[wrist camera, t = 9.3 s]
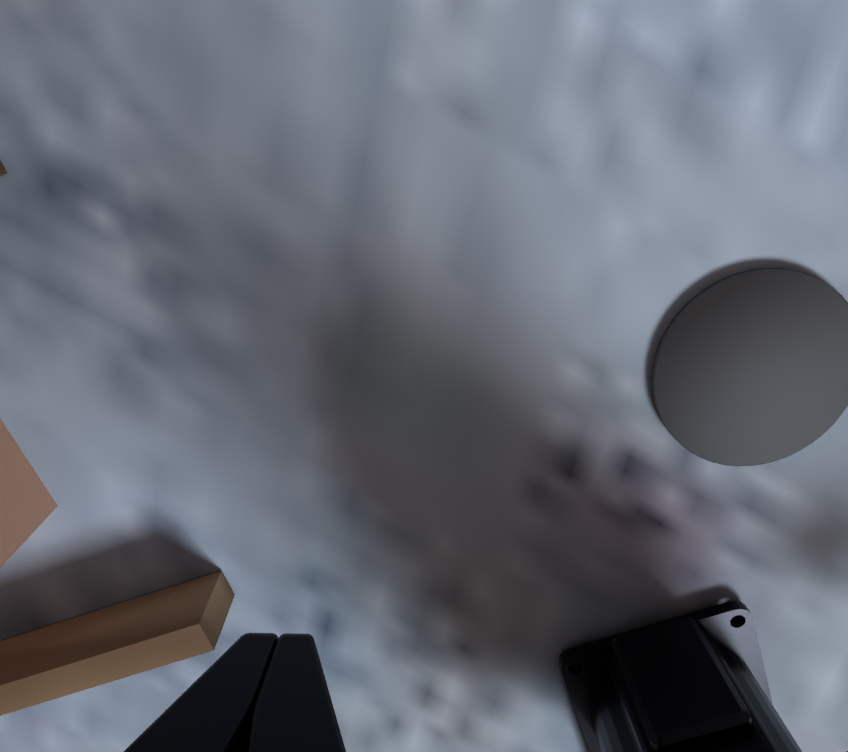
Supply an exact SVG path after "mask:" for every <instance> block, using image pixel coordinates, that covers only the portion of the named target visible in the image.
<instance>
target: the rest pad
mask: <svg viewBox="0 0 848 752" xmlns="http://www.w3.org/2000/svg"><path fill="white" fill-rule="evenodd" d="M652 393H653V398H654V403H655V406H656V409H657V412H658V414H659V416H660V418H661V420H662V422H663V424H664V425H665V427H666V428H667V430H668V431H669V432H670V434H671V435H672V436H673V437H674V438H675V439H676V440H677V441H678V442H679V443H680V444H681V445H682V446H683V447H685V448H686V449H687V450H689V451H690V452H691V453H693V454H695V455H697V456H699V457H701V458H703V459H706V460H708V461H711V462H714V463H718V464H723V465H730V466H753V465H760V464H765V463H769V462H773V461H777V460H779V459H782V458H785V457H788V456H790V455H792V454H794V453H796V452H798V451H800V450H802V449H803V448H805V447H806V446H808V445H810V444H811V443H813V442H814V441H815V440H816V439H818V438H819V437H820V436H821V435H823V434H824V433H825V432H826V431H827V430H828V429H829V428H830V427H831V426H832V425H833V424H834V423H835V422H836V420H837V419H838V418H839V417H840V415H841V414H842V413H843V411H844V410H845V408H846V407H847V405H848V302H847V301H846V300H845V299H844V297H843V296H842V295H841V294H840V293H838V292H837V291H836V290H835V289H834V288H833V287H831V286H830V285H828V284H827V283H825V282H823V281H822V280H819V279H817V278H815V277H812V276H810V275H807V274H805V273H801V272H797V271H794V270H788V269H780V268H763V269H756V270H749V271H745V272H742V273H738V274H735V275H732V276H730V277H727V278H725V279H722V280H720V281H719V282H717V283H715V284H713V285H711V286H709V287H708V288H706V289H705V290H704V291H702V292H701V293H699V294H698V295H697V296H695V297H694V298H693V299H692V300H691V301H690V302H689V303H688V304H686V305H685V306H684V308H683V309H682V310H681V311H680V312H679V313H678V314H677V315H676V317H675V318H674V320H673V321H672V322H671V324H670V325H669V327H668V328H667V330H666V332H665V334H664V336H663V337H662V339H661V342H660V344H659V347H658V349H657V352H656V356H655V360H654V364H653V371H652Z"/></svg>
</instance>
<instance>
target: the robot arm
mask: <svg viewBox="0 0 848 752" xmlns="http://www.w3.org/2000/svg"><path fill="white" fill-rule="evenodd" d="M736 615H739V616H738V617H737V618H735V619H732V618H733V617H734V616H736ZM574 662H579V663H578V664H576V665H570V664H572V663H574ZM559 665H560V668H561V672H562V675H563V678H564V680H565V683H566V686H567V689H568V692H569V695H570V697H571V700H572V703H573V706H574V709H575V711H576V714H577V717H578V720H579V723H580V726H581V728H582V731H583V734H584V737H585V740H586V742H587V745H588V748H589V751H590V752H802V751H801V749H800V748H799V746H798V745H797V743H796V741H795V740H794V738H793V737H792V735H791V734H790V732H789V730H788V729H787V727H786V726H785V724H784V723H783V721H782V719H781V718H780V716H779V715H778V713H777V712H776V710H775V708H774V707H773V705H772V700H771V696H770V691H769V687H768V683H767V678H766V674H765V669H764V665H763V660H762V656H761V651H760V647H759V642H758V638H757V633H756V629H755V624H754V620H753V616H752V614H751V613H750V611H749V610H748V608H747V607H746V606H745V605H744V604H743V603H742V602H738V601H731V602H727V603H723V604H720V605H716V606H713V607H710V608H706V609H703V610H699V611H696V612H692V613H689V614H686V615H682V616H679V617H675V618H672V619H668V620H665V621H662V622H658V623H655V624H651V625H648V626H644V627H641V628H638V629H634V630H631V631H627V632H624V633H620V634H617V635H614V636H610V637H607V638H603V639H600V640H596V641H593V642H590V643H586V644H583V645H579V646H576V647H572V648H569V649H567V650H565V651H564V652H563V653H562V654H561V655H560V657H559ZM124 752H346V750H345V747H344V743H343V740H342V736H341V733H340V729H339V725H338V722H337V718H336V715H335V711H334V708H333V704H332V701H331V697H330V694H329V690H328V687H327V683H326V680H325V676H324V673H323V669H322V666H321V662H320V659H319V655H318V652H317V648H316V645H315V641H314V638H313V637H312V635H310V634H282V635H281V636H280V637H279V638H278V636H277V635H276V634H273V633H246V634H245V635H243V636H241V637H240V638H239V639H238V640H237V641H236V642H235V643H234V644H233V645H232V646H231V647H230V648H229V649H228V650H227V651H226V652H225V653H224V654H223V655H222V656H221V657H220V658H219V659H218V660H217V661H216V662H215V663H214V664H213V665H212V666H211V667H210V668H209V669H208V670H207V671H206V672H205V673H203V674H202V675H201V676H200V677H199V678H198V679H197V680H196V681H195V682H194V683H193V684H192V685H191V686H190V687H189V688H188V689H187V690H186V691H185V692H184V693H183V694H182V695H181V696H180V697H179V698H178V699H177V700H176V701H175V702H174V703H173V704H172V705H171V706H170V707H169V708H168V709H167V710H166V711H165V712H164V713H163V714H162V715H161V716H160V717H159V718H157V719H156V720H155V721H154V722H153V723H152V724H151V725H150V726H149V727H148V728H147V729H146V730H145V731H144V732H143V733H142V734H141V735H140V736H139V737H138V738H137V739H136V740H135V741H134V742H133V743H132V744H131V745H130V746H129V747H128V748H127V749H126V750H125V751H124ZM847 752H848V751H847Z"/></svg>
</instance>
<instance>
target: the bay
mask: <svg viewBox="0 0 848 752" xmlns="http://www.w3.org/2000/svg"><path fill="white" fill-rule="evenodd" d="M4 174H7V173H6V171H5V169H4V167H3V165H2V163H1V161H0V176H1V175H4ZM233 598H234V593H233V591H232V589H231V587H230V586H229V584H228V582H227V580H226V578H225V576H224V574H223V573H222V571H219V572H216V573H213V574H210V575H206V576H203V577H200V578H197V579H194V580H191V581H188V582H184V583H181V584H178V585H175V586H172V587H169V588H166V589H162V590H159V591H156V592H153V593H150V594H147V595H143V596H140V597H137V598H134V599H131V600H128V601H125V602H121V603H118V604H115V605H112V606H109V607H106V608H103V609H99V610H96V611H93V612H90V613H87V614H84V615H81V616H77V617H74V618H71V619H68V620H65V621H62V622H59V623H55V624H52V625H49V626H46V627H43V628H40V629H37V630H33V631H30V632H27V633H24V634H21V635H18V636H15V637H11V638H8V639H5V640H2V641H0V715H4V714H7V713H10V712H13V711H17V710H20V709H23V708H26V707H30V706H33V705H36V704H39V703H43V702H46V701H49V700H52V699H56V698H59V697H62V696H66V695H69V694H72V693H75V692H79V691H82V690H85V689H88V688H92V687H95V686H98V685H101V684H105V683H108V682H111V681H114V680H118V679H121V678H124V677H128V676H131V675H134V674H137V673H141V672H144V671H147V670H150V669H154V668H157V667H160V666H163V665H167V664H170V663H173V662H176V661H180V660H183V659H186V658H190V657H193V656H196V655H199V654H203V653H206V652H209V651H212V650H214V649H215V646H216V643H217V641H218V638H219V635H220V633H221V630H222V627H223V625H224V622H225V619H226V617H227V614H228V611H229V609H230V606H231V603H232V601H233Z"/></svg>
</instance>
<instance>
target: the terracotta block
mask: <svg viewBox="0 0 848 752" xmlns="http://www.w3.org/2000/svg"><path fill="white" fill-rule="evenodd" d="M56 507H57V504H56V503H55V501H54V500H53V498H52V497H51V495H50V494H49V492H48V490H47V489H46V487H45V486H44V484H43V483H42V481H41V480H40V478H39V477H38V475H37V474H36V472H35V471H34V469H33V468H32V466H31V465H30V463H29V461H28V460H27V458H26V457H25V455H24V454H23V452H22V451H21V449H20V448H19V446H18V445H17V443H16V442H15V440H14V439H13V437H12V436H11V434H10V433H9V431H8V429H7V428H6V426H5V425H4V423H3V422H2V420H1V419H0V567H1V566H2V565H3V564H4V563H5V562H6V561H7V560H8V559H9V558H10V557H11V556H12V555H13V553H14V552H15V551H16V550H17V549H18V548H19V547H20V546H21V545H22V544H23V543H24V542H25V541H26V539H27V538H28V537H29V536H30V535H31V534H32V533H33V532H34V531H35V530H36V529H37V528H38V527H39V525H40V524H41V523H42V522H43V521H44V520H45V519H46V518H47V517H48V516H49V515H50V514H51V513H52V511H53V510H54V509H55V508H56Z"/></svg>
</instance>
